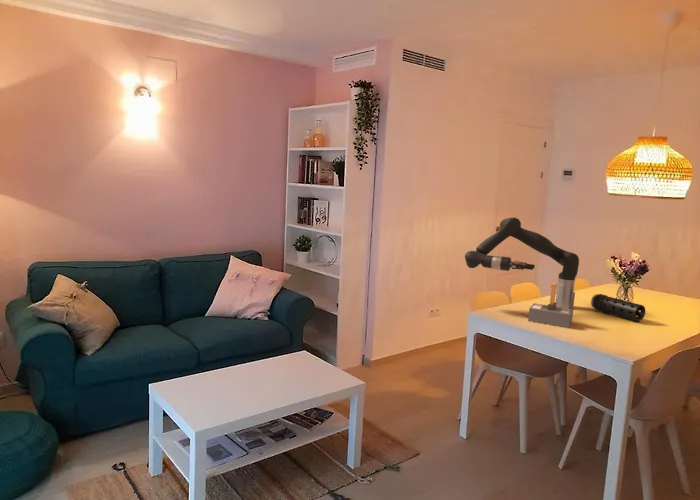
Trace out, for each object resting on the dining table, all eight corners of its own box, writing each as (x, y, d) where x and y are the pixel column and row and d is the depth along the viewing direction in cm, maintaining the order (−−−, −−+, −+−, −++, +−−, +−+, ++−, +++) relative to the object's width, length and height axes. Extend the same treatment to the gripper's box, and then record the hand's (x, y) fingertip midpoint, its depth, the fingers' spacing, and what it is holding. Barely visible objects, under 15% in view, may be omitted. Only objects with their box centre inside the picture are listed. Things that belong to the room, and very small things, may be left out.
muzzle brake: (633, 323, 281) (636, 305, 279) (588, 310, 305) (590, 293, 304) (644, 322, 285) (646, 304, 284) (599, 309, 310) (601, 292, 308)
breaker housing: (528, 321, 275) (529, 302, 273) (533, 315, 287) (534, 298, 285) (568, 328, 265) (570, 309, 264) (571, 322, 277) (573, 304, 276)
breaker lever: (548, 308, 273) (551, 283, 271) (549, 306, 277) (552, 282, 276) (553, 309, 272) (555, 284, 270) (554, 307, 276) (557, 283, 274)
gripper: (498, 257, 279) (531, 262, 270) (504, 255, 291) (536, 258, 283) (497, 271, 280) (530, 276, 272) (503, 268, 292) (535, 272, 284)
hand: (533, 267), depth 277 cm, fingers open, 3 cm apart
